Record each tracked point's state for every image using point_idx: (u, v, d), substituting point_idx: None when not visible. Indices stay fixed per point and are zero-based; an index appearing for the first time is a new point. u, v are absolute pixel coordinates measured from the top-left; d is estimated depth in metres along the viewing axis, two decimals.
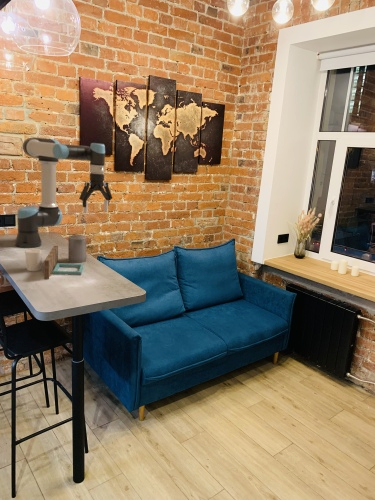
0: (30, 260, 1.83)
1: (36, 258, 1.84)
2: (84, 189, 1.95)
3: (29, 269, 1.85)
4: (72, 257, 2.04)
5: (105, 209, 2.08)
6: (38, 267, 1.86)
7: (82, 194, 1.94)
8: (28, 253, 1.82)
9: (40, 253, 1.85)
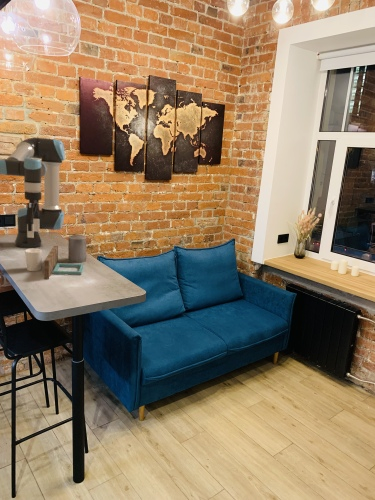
0: (30, 260, 1.83)
1: (36, 258, 1.84)
2: (29, 211, 1.73)
3: (29, 269, 1.85)
4: (72, 257, 2.04)
5: (36, 229, 1.89)
6: (38, 267, 1.86)
7: (29, 217, 1.72)
8: (28, 253, 1.82)
9: (40, 253, 1.85)
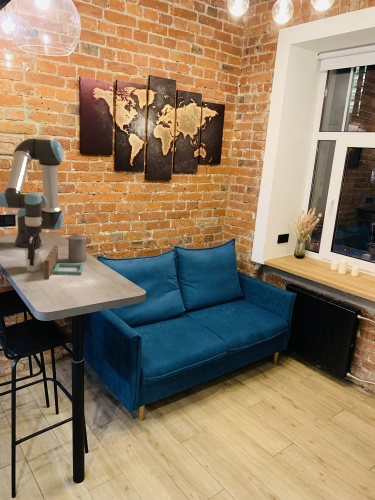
0: None
1: (36, 258, 1.84)
2: (30, 247, 1.78)
3: None
4: (72, 257, 2.04)
5: None
6: (38, 267, 1.86)
7: (30, 253, 1.79)
8: None
9: (40, 253, 1.85)
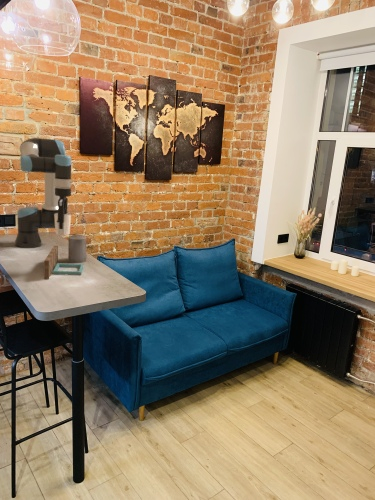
0: None
1: (65, 222, 1.81)
2: (60, 209, 1.76)
3: None
4: (72, 257, 2.04)
5: None
6: (67, 231, 1.83)
7: (60, 216, 1.76)
8: (57, 216, 1.80)
9: (69, 217, 1.82)
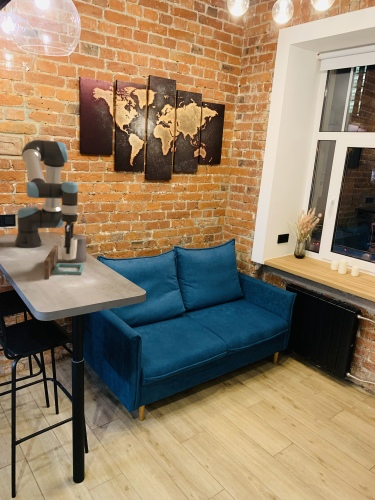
0: None
1: (72, 246, 1.85)
2: (67, 235, 1.80)
3: None
4: None
5: None
6: (73, 256, 1.88)
7: (67, 241, 1.80)
8: (64, 241, 1.84)
9: (75, 242, 1.86)
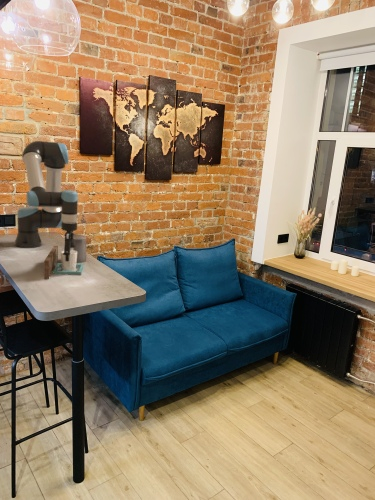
0: None
1: (72, 259, 1.87)
2: (67, 242, 1.80)
3: (64, 270, 1.88)
4: None
5: None
6: (73, 268, 1.89)
7: (67, 248, 1.80)
8: None
9: (75, 255, 1.88)
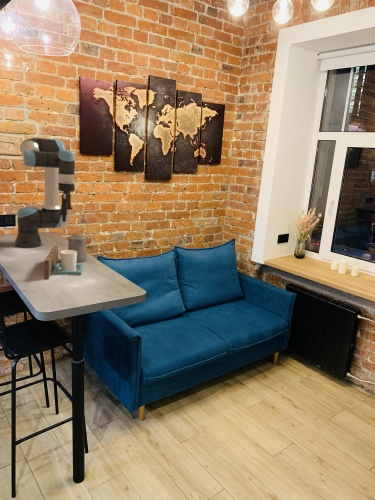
0: (66, 261, 1.86)
1: (71, 259, 1.87)
2: (64, 202, 1.77)
3: (64, 270, 1.88)
4: None
5: (67, 219, 1.93)
6: (73, 268, 1.89)
7: (64, 208, 1.76)
8: (64, 254, 1.85)
9: (75, 255, 1.88)
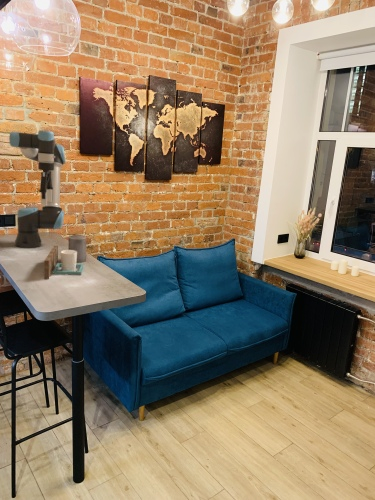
0: (66, 261, 1.86)
1: (71, 259, 1.87)
2: (43, 180, 1.85)
3: (64, 270, 1.88)
4: None
5: (48, 199, 2.01)
6: (73, 268, 1.89)
7: (43, 185, 1.84)
8: (64, 254, 1.85)
9: (75, 255, 1.88)
